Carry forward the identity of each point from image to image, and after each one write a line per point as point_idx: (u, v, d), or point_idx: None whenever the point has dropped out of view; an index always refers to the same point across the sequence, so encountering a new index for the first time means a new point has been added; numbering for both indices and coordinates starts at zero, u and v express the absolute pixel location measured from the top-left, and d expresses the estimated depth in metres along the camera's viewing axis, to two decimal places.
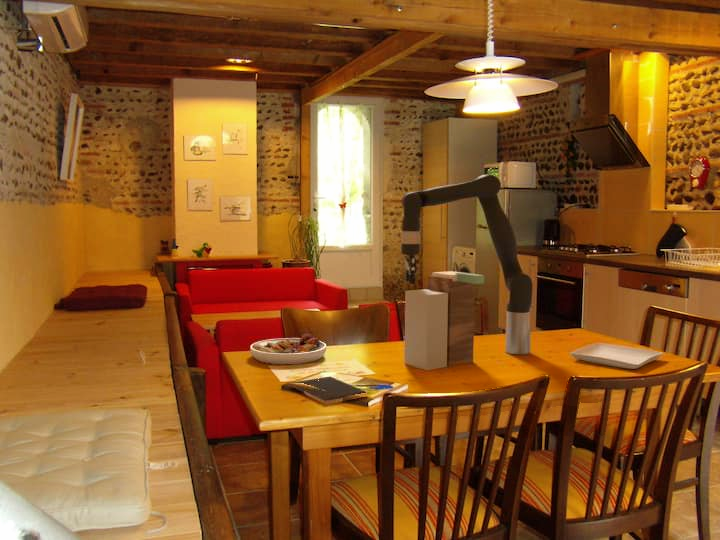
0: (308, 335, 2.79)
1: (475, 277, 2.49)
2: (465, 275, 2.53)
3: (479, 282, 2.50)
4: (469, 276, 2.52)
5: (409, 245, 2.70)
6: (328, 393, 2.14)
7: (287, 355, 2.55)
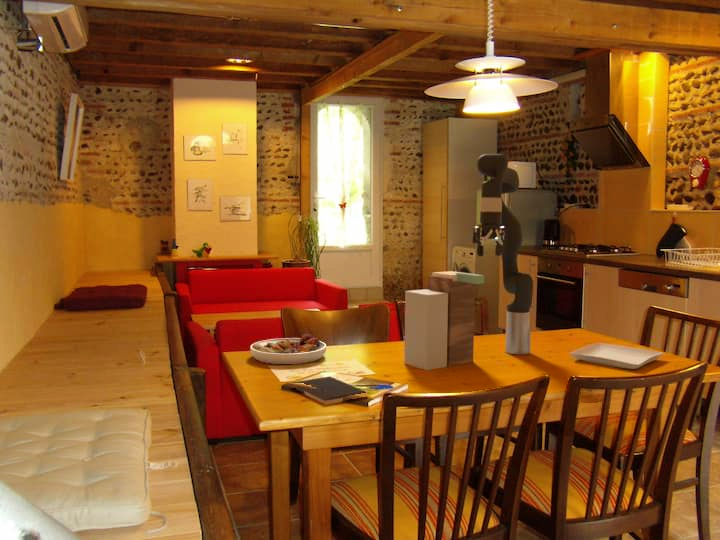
0: (308, 335, 2.79)
1: (475, 277, 2.49)
2: (465, 275, 2.53)
3: (479, 282, 2.50)
4: (469, 276, 2.52)
5: None
6: (328, 393, 2.14)
7: (287, 355, 2.55)
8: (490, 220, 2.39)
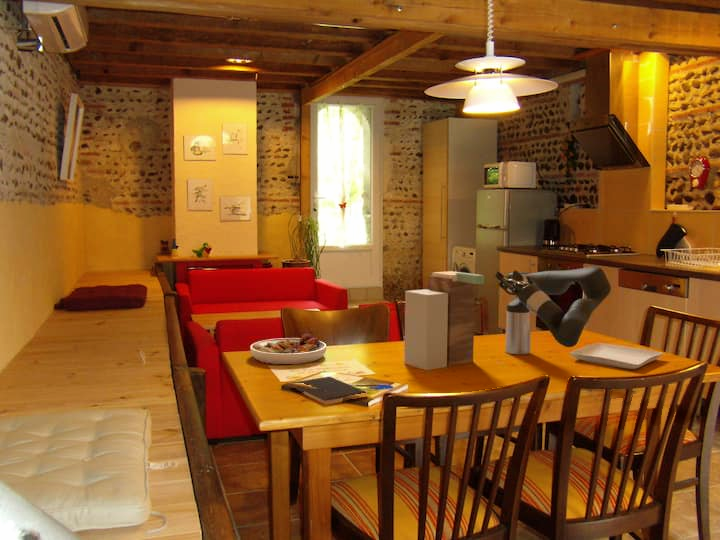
0: (308, 335, 2.79)
1: (475, 277, 2.49)
2: (465, 275, 2.53)
3: (479, 282, 2.50)
4: (469, 276, 2.52)
5: None
6: (328, 393, 2.14)
7: (287, 355, 2.55)
8: (520, 301, 2.31)
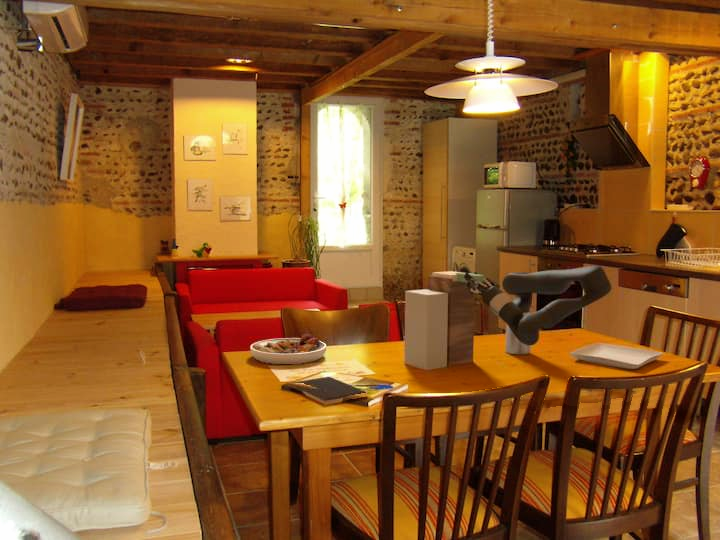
0: (308, 335, 2.79)
1: (475, 277, 2.49)
2: None
3: None
4: None
5: None
6: (328, 393, 2.14)
7: (287, 355, 2.55)
8: (484, 302, 2.45)
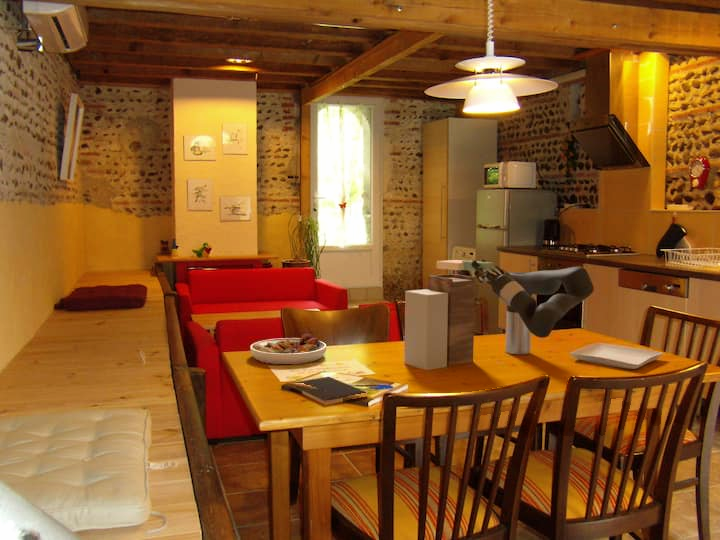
0: (308, 335, 2.79)
1: (484, 265, 2.32)
2: None
3: None
4: None
5: None
6: (328, 393, 2.14)
7: (287, 355, 2.55)
8: (494, 292, 2.28)
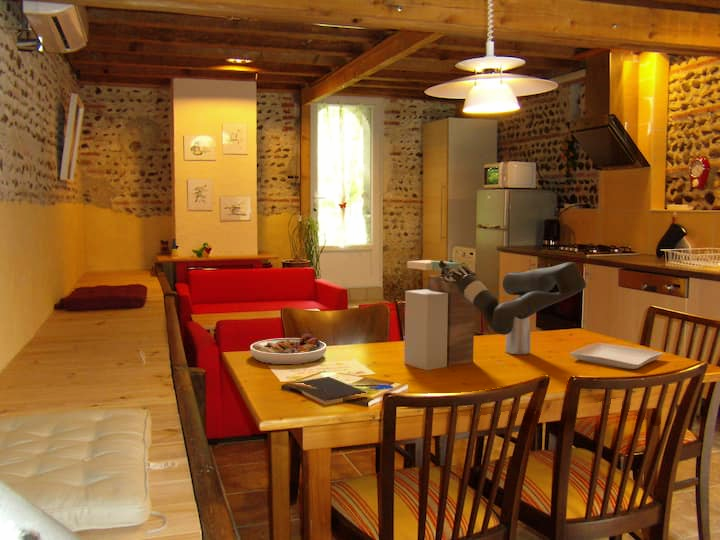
0: (308, 335, 2.79)
1: (450, 265, 2.42)
2: None
3: None
4: None
5: None
6: (328, 393, 2.14)
7: (287, 355, 2.55)
8: (459, 291, 2.38)
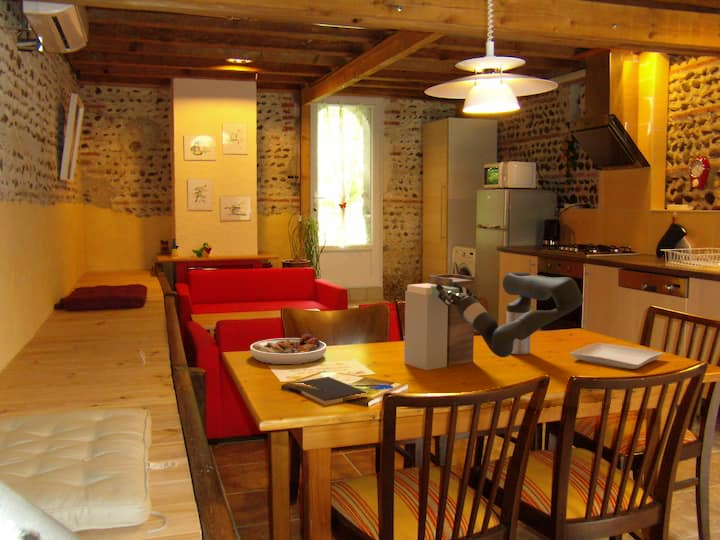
0: (308, 335, 2.79)
1: None
2: None
3: None
4: None
5: None
6: (328, 393, 2.14)
7: (287, 355, 2.55)
8: (458, 312, 2.39)
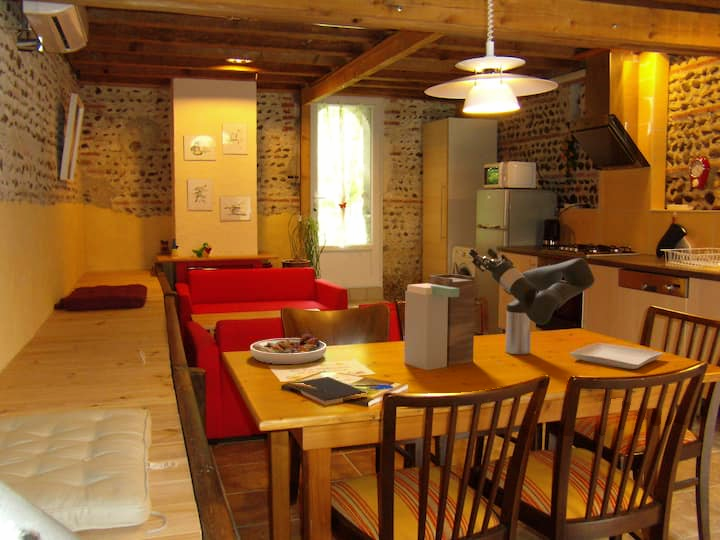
0: (308, 335, 2.79)
1: (450, 291, 2.42)
2: (440, 288, 2.47)
3: (454, 295, 2.43)
4: (444, 289, 2.45)
5: None
6: (327, 393, 2.14)
7: (287, 355, 2.55)
8: (494, 278, 2.28)
